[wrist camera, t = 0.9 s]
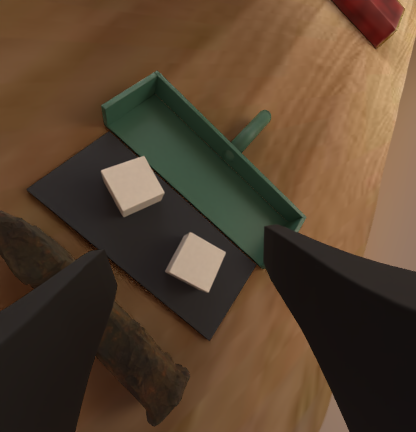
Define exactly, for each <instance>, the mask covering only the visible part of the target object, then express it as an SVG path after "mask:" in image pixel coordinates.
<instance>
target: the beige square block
mask: <svg viewBox="0 0 416 432" xmlns="http://www.w3.org/2000/svg"><path fill="white" fill-rule="evenodd" d="M225 254H226V252H224V251H223V250H221V249H219V248H217V247H216V246H214V245H212V244H210V243H209V242H207V241H205V240H204V239H202V238H200V237H198V236H197V235H195V234H193V233H191V232H189V233H188V234H186V235H184V237H183V238H182V240H181V242H180V244H179V246H178V248H177V250H176V252H175V253H174V255H173V257H172V259H171V261H170V263H169V265H168V266H167V268H166V270H165V272H166V273H168V274H170V275H172V276H174V277H175V278H177V279H179V280H181V281H183V282H185V283H187V284H189V285H191V286H193V287H195V288H197V289H198V290H201V291H204V292H207V293H208V292H209V291H210V288H211V286H212V284H213V281H214V279H215V277H216V274H217V272H218V270H219V267H220V265H221V263H222V261H223V258H224V256H225Z"/></svg>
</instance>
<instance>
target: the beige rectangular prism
mask: <svg viewBox="0 0 416 432" xmlns="http://www.w3.org/2000/svg"><path fill="white" fill-rule="evenodd" d="M101 174H102V177H103V181H104V183H105V185H106V187H107V188H108V190H109V192H110V194H111V196H112V198H113V199H114V201H115V203H116V205H117V207H118V209H119V210H120V212H121V214H122V216H123V217H126V216H128V215H130V214H132V213H135V212H137V211H139V210H141V209H144V208H146V207H148V206H150V205H152V204H155V203H157V202H159V201H161V200H162V197H163V195H164V191H163V189H162V187H161V185H160V183H159V182H158V180H157V178H156V176H155V174H154V173H153V171H152V169H151V167H150V165H149V164H148V162H147V160H146V158H145V156H142V157H139V158H136V159H133V160H130V161H127V162H124V163H121V164H118V165H115V166H112V167H109V168H106V169H103V170H101Z"/></svg>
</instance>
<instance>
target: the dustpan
mask: <svg viewBox="0 0 416 432" xmlns="http://www.w3.org/2000/svg"><path fill="white" fill-rule="evenodd" d="M155 94H156V95H157V96H158V97H159V98H158V97H157V96H156V95H155ZM101 108H102V114H103V120H104V125H105V126H106V127H107V128H108V129H110V130H111V131H112V132H113V133H114V134H115V135H116V136H117V137H118V138H119V139H120V140H122V141H123V142H124V143H125V144H126V145H127V146H128V147H129V148H130V149H131V150H133V151H134V152H135V153H136V154H137V155H138V156H139V157H142V156H145V158H146V160H147V162H148V164H149V165H150V167H151V168H152V169H153V170H154V171H156V172H157V173H158V174H159V175H160V176H161V177H162V178H163V179H164V180H165V181H167V182H168V183H169V184H170V185H171V186H172V187H173V188H174V189H175V190H176V191H178V192H179V193H180V194H181V195H182V196H183V197H184V198H185V199H186V200H187V201H188V202H190V203H191V204H192V205H193V206H194V207H195V208H196V209H197V210H198V211H199V212H201V213H202V214H203V215H204V216H205V217H206V218H207V219H208V220H209V221H210V222H212V223H213V224H214V225H215V226H216V227H217V228H218V229H219V230H220V231H221V232H222V233H224V234H225V235H226V236H227V237H228V238H229V239H230V240H231V241H232V242H233V243H235V244H236V245H237V246H238V247H239V248H240V249H241V250H242V251H243V252H244V253H246V254H247V255H248V256H249V257H250V258H251V259H252V260H253V261H254V262H255V263H256V264H258V265H259V266H260V267H261V268H262V269H266V268H265V265H264V263H263V252H264V226H269V225H276V224H277V225H281V226H283V227H286V228H288V229H291V230H293V231H295V232H299V230H300V228H301V226H302V224H303V223H304V221H305V219H306V216H305V215H304V214H303V213H302V212H301V211H300V210H299V209H298V208H297V207H296V206H295V205H294V204H293V203H292V202H291V201H290V200H289V199H288V198H287V197H286V196H285V195H284V194H283V193H282V192H281V191H280V190H279V189H278V188H276V187H275V186H274V185H273V184H272V183H271V182H270V181H269V180H268V179H267V178H266V177H265V176H264V175H263V174H262V173H261V172H260V171H259V170H258V169H257V168H256V167H255V166H254V165H253V164H252V163H251V162H250V161H249V160H248V159H247V158H246V157H245V156H244V155H243V154H242V152H243V151H244V150H245V149H246V148H247V146H248V145H249V144H250V143H251V142H252V141H253V140H254V139H255V138H256V136H257V135H258V134H259V133H260V132H261V131H262V130H263V129H264V127H265V126H266V125H267V124H268V123H269V122H270V120H271V114H270V112H269V111H267V110H262V111H260V112H259V113H258V114H257V115H256V117H255V118H254V119H253V120H252V121H251V122H250V123H249V124H248V125H247V126H246V127H245V128H244V129H243V130H242V131H241V132H240V133H239V134H238V135H237V136H236V137H235V138H234V139H233V140H232V142H230V141H229V140H228V139H227V138H226V137H225V136H224V135H223V134H222V133H221V132H220V131H218V130H217V129H216V128H215V127H214V126H213V125H212V124H211V123H210V122H209V121H208V120H207V119H206V118H205V117H204V116H203V115H202V114H201V113H200V112H199V111H198V110H197V109H196V108H195V107H194V106H193V105H192V104H191V103H190V102H189V101H188V100H187V99H186V98H185V97H184V96H183V95H182V94H181V93H180V92H179V91H178V90H177V89H176V88H175V87H174V86H173V85H172V84H171V83H170V82H169V81H168V80H167V79H166V78H165V77H164V76H163V75H162V74H160V73H159V72H158V71H155V72H154V73H152V74H151V75H149V76H147V77H146V78H144V79H143V80H141V81H140V82H138V83H136V84H135V85H133V86H132V87H130V88H128V89H127V90H125V91H124V92H122V93H120V94H119V95H117V96H116V97H114V98H112V99H111V100H109V101H108V102H106V103H104V104H103V105H101ZM173 111H174V112H175V113H176V114H177V115H178V116H179V117H180V118H181V119H182V120H183V121H184V122H185V123H186V124H187V125H188V126H187V125H186V124H185V123H184V122H183V121H182V120H181V119H180V118H179V117H178V116H177V115H176V114H175V113H174V112H173ZM202 139H203V140H204V141H205V142H206V143H207V144H208V145H209V146H210V147H211V148H212V149H213V150H214V151H215V152H216V153H215V152H214V151H213V150H212V149H211V148H210V147H209V146H208V145H207V144H206V143H205V142H204V141H203V140H202ZM231 167H232V168H233V169H234V170H235V171H236V172H237V173H238V174H239V175H240V176H241V177H242V178H243V179H244V180H245V181H244V180H243V179H242V178H241V177H240V176H239V175H238V174H237V173H236V172H235V171H234V170H233V169H232V168H231ZM260 195H261V196H262V197H263V198H264V199H265V200H266V201H267V202H268V203H269V204H270V205H271V206H272V207H273V208H272V207H271V206H270V205H269V204H268V203H267V202H266V201H265V200H264V199H263V198H262V197H261V196H260Z"/></svg>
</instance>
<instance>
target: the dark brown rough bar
mask: <svg viewBox="0 0 416 432" xmlns="http://www.w3.org/2000/svg"><path fill="white" fill-rule="evenodd" d="M0 255H1V256H2V257H3V259H4V260H5V262H6V263H7V265H8V266H9V268H10V269H11V271H12V272H13V274H14V275H15V276H16V277H17V278H18V279H19V280H20V281H21V282H23V283H24V284H30V285H31V286H32V287H33V288H34V289H35V288H37V287H38V286H40V285H41V284H43V283H44V282H46V281H47V280H49V279H50V278H51V277H53V276H54V275H56V274H57V273H58V272H60V271H61V270H63V269H64V268H65V267H67V266H68V265H70V264H71V263H72V262H74V261H75V259H74V258H73V257H72V256H71V255H70V254H69V253H68V252H67V251H66V250H65V249H64V248H63V247H62V246H61V245H59V244H58V243H57V242H56V241H55V240H54V239H52V238H51V237H49V236H47V235H46V234H45V233H44V232H42V231H41V229H40V228H38V227H37V226H32V225H30V224H29V223H27V222H26V221H24V220H23V219H22V218H18V217H14V216H12V215H10V214H8V213H6V212H3V211H0ZM96 357H97V358H98V359H99V360H100V361H101V362H102V363H103V365H104V366H105V367H106V368H107V369H108V370H109V371H110V372H111V373H112V374H113V375H114V377H115V378H116V379H117V380H118V381H119V382H120V383H121V384H122V385H123V386H124V387H126V388H127V389H128V390H129V391H130V392H131V394H132V395H133V396H134V397H135V398H136V399H137V400H138V401H139V402H140V403H141V404H142V405H143V407H144V408H145V409H146V415H147V421H148V423H149V424H151V425H152V426H154V427H155V426H156V425H158V424H160V423H161V422H162V421H163V420H164V419H165V418H166V416H167V415H168V414H169V413H170V412H171V411H172V410H173V408H174V407H175V406H177V405H178V404H179V402H180V401H181V399H182V395H183V392H184V389H185V387H186V385H187V382H188V380H189V378H190V374H189V371H188V370H187V368H185V367H182V365H179V364H174V362H173V360H172V358H171V356H170V355H169V354H168V353H163V352H162V351H161V349H160V347H159V346H158V345H157V344H156V343H155V342H154V340H153V339H152V338H151V337H150V336H149V335H148V334H147V333H146V332H145V330H144V328H143V327H141V326H140V324H139V323H138V322H136V321H135V320H133V319H131V317H130V316H129V315H128V314H127V313H126V312H125V311H124V310H123V309H122V308H121V307H120V306H119V305H118V304H117V303H116V302H115V301H114V304H113V308H112V311H111V314H110V317H109V320H108V322H107V325H106V328H105V331H104V334H103V336H102V339H101V342H100V345H99V348H98V350H97V353H96Z"/></svg>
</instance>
